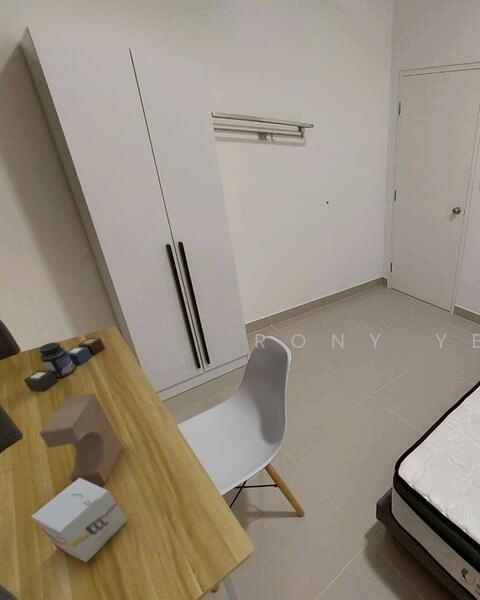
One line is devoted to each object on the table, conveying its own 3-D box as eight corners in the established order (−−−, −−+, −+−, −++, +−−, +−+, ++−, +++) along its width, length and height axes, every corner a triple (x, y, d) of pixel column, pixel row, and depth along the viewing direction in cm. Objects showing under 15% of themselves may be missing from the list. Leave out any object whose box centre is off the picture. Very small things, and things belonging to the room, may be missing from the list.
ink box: (55, 548, 67) (27, 515, 61) (100, 508, 74) (79, 475, 68) (85, 564, 65) (59, 532, 59) (128, 521, 72) (109, 488, 66)
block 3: (94, 355, 120) (89, 345, 117) (82, 354, 120) (77, 344, 117) (105, 348, 124) (100, 338, 121) (93, 347, 124) (88, 337, 121)
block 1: (44, 391, 103) (37, 380, 101) (30, 390, 103) (23, 379, 101) (58, 381, 107) (51, 371, 105) (44, 380, 107) (38, 370, 105)
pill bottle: (76, 364, 115) (62, 338, 110) (75, 373, 111) (61, 347, 106) (51, 371, 111) (36, 345, 106) (50, 381, 107) (34, 354, 102)
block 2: (81, 365, 115) (75, 354, 113) (68, 364, 115) (63, 353, 113) (92, 357, 119) (87, 346, 117) (80, 356, 119) (75, 346, 117)
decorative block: (104, 485, 78) (69, 428, 69) (75, 491, 77) (35, 433, 67) (124, 447, 88) (96, 391, 78) (99, 451, 86) (66, 395, 77)
